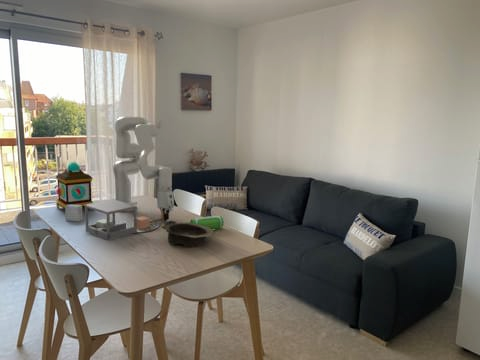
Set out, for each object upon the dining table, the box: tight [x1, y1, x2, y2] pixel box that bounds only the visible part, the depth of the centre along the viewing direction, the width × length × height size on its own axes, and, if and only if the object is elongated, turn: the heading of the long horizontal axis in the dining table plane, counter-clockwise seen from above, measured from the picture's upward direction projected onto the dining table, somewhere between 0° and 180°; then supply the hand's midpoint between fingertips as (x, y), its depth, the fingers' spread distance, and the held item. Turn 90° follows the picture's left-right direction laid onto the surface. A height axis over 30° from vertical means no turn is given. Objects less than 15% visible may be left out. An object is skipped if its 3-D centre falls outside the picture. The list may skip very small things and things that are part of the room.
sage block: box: [95, 218, 113, 229], centre depth 193 cm, size 6×6×5 cm
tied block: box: [137, 210, 168, 230], centre depth 206 cm, size 20×6×6 cm, turn 143°
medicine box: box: [64, 205, 83, 223], centre depth 207 cm, size 8×4×9 cm, turn 84°
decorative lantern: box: [55, 161, 94, 210], centre depth 228 cm, size 20×20×30 cm
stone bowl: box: [161, 220, 214, 248], centre depth 180 cm, size 25×25×9 cm
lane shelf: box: [84, 199, 138, 241], centre depth 190 cm, size 17×20×14 cm
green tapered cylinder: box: [189, 215, 224, 230], centre depth 200 cm, size 18×7×8 cm, turn 118°
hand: (165, 219), depth 214 cm, fingers closed on tied block, 1 cm apart
